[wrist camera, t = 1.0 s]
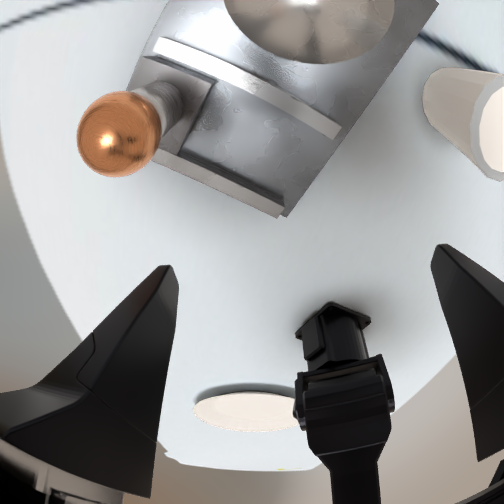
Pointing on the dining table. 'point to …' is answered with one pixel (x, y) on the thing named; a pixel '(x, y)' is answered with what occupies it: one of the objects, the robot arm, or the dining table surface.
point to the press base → (278, 85)
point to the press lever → (142, 118)
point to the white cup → (469, 114)
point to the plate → (247, 411)
